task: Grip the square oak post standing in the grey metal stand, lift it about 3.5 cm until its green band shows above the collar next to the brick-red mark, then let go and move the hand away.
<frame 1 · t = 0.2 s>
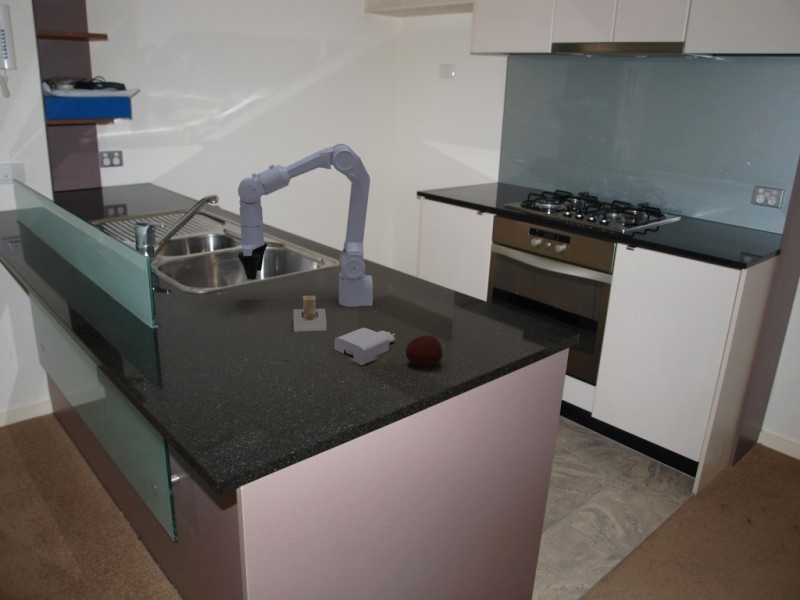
hand: (254, 274, 171), 10 cm above the counter, tool pointing down, fingers open, 7 cm apart
potato: (423, 365, 145), on the counter
charger: (370, 352, 151), on the counter
post: (309, 311, 161), point 5 cm above the counter, slide at 0.0 cm
stand: (309, 329, 162), on the counter
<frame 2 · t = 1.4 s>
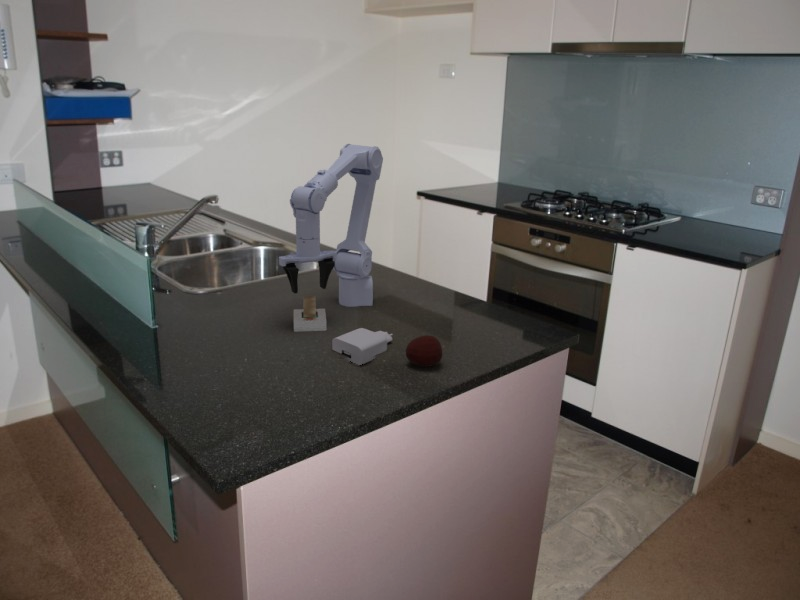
hand: (308, 290, 159), 10 cm above the counter, tool pointing down, fingers open, 7 cm apart
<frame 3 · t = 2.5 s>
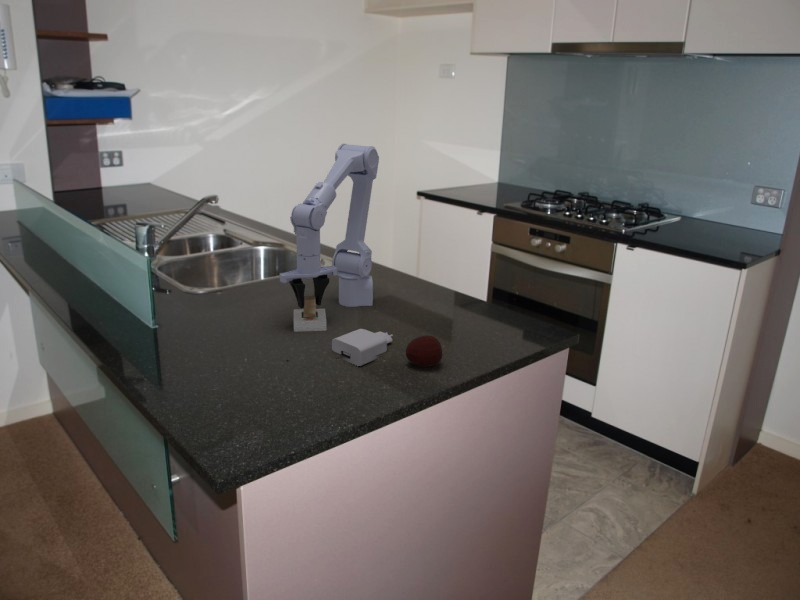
hand: (309, 305, 160), 6 cm above the counter, tool pointing down, fingers closed on post, 4 cm apart
post: (309, 311, 161), point 5 cm above the counter, slide at 0.0 cm, touching gripper
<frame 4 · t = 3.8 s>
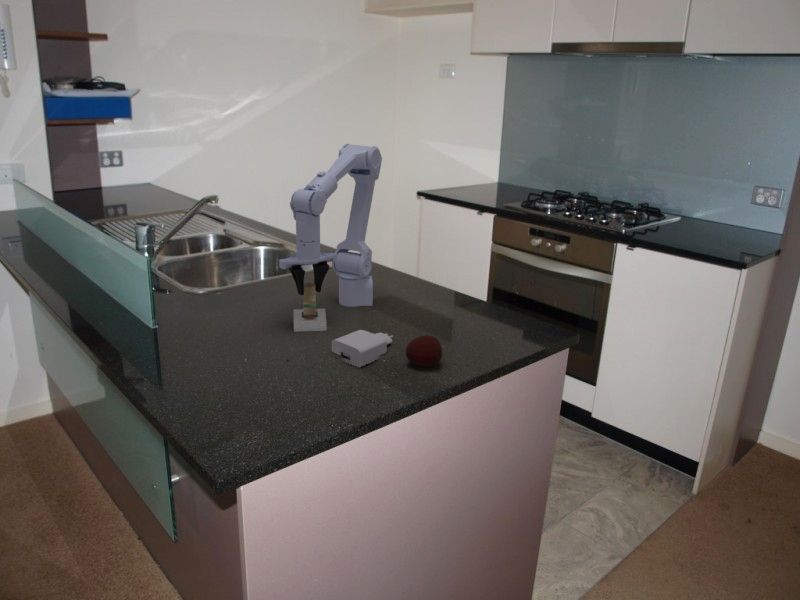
hand: (309, 292, 159), 10 cm above the counter, tool pointing down, fingers closed on post, 4 cm apart
post: (309, 299, 159), point 8 cm above the counter, slide at 3.3 cm, touching gripper
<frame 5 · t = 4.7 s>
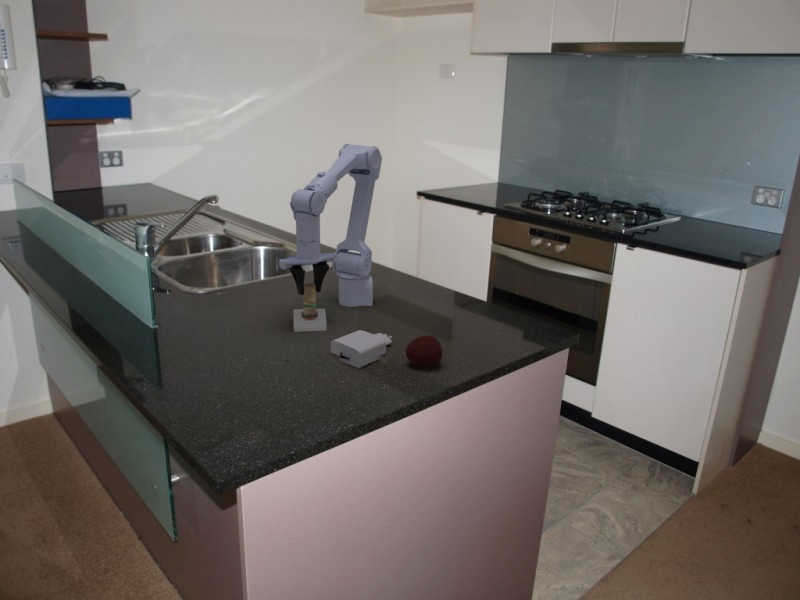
hand: (309, 292, 159), 10 cm above the counter, tool pointing down, fingers closed on post, 4 cm apart
post: (309, 299, 159), point 8 cm above the counter, slide at 3.3 cm, touching gripper
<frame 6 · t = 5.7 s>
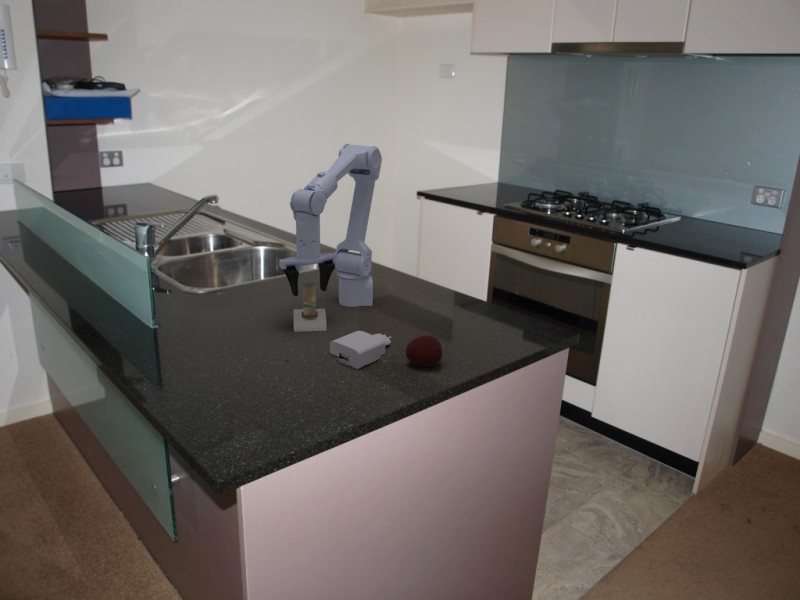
hand: (309, 292, 159), 10 cm above the counter, tool pointing down, fingers open, 7 cm apart
post: (309, 299, 159), point 8 cm above the counter, slide at 3.3 cm
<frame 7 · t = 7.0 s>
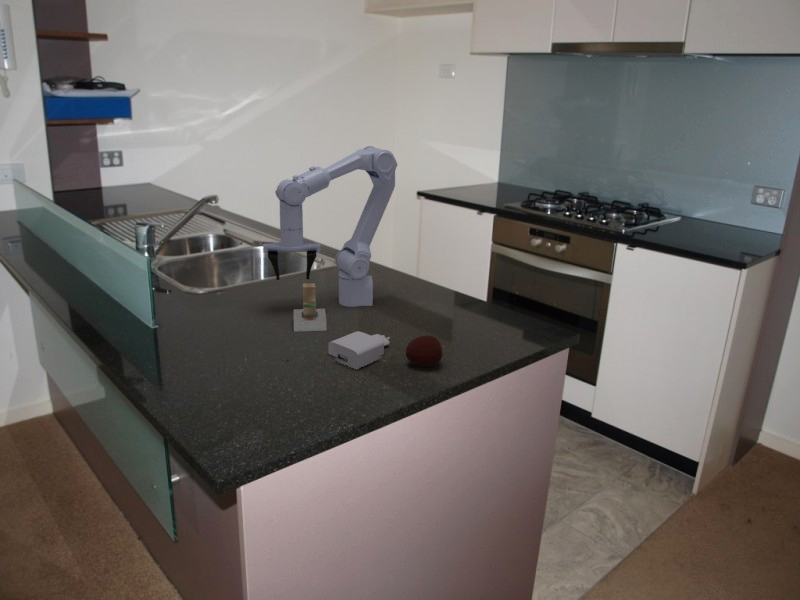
hand: (292, 278, 167), 10 cm above the counter, tool pointing down, fingers open, 7 cm apart
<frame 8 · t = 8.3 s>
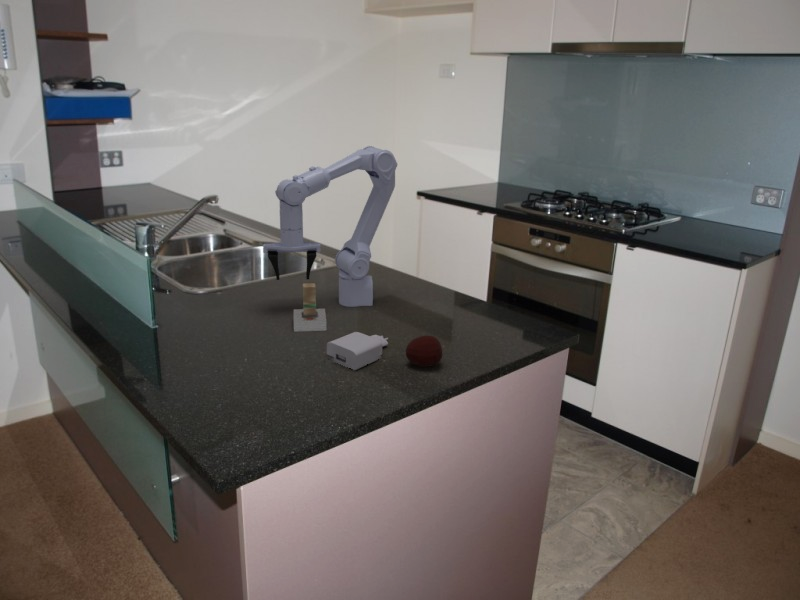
hand: (292, 278, 167), 10 cm above the counter, tool pointing down, fingers open, 7 cm apart
at the end: post slide at 3.3 cm; the gripper is holding nothing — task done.
